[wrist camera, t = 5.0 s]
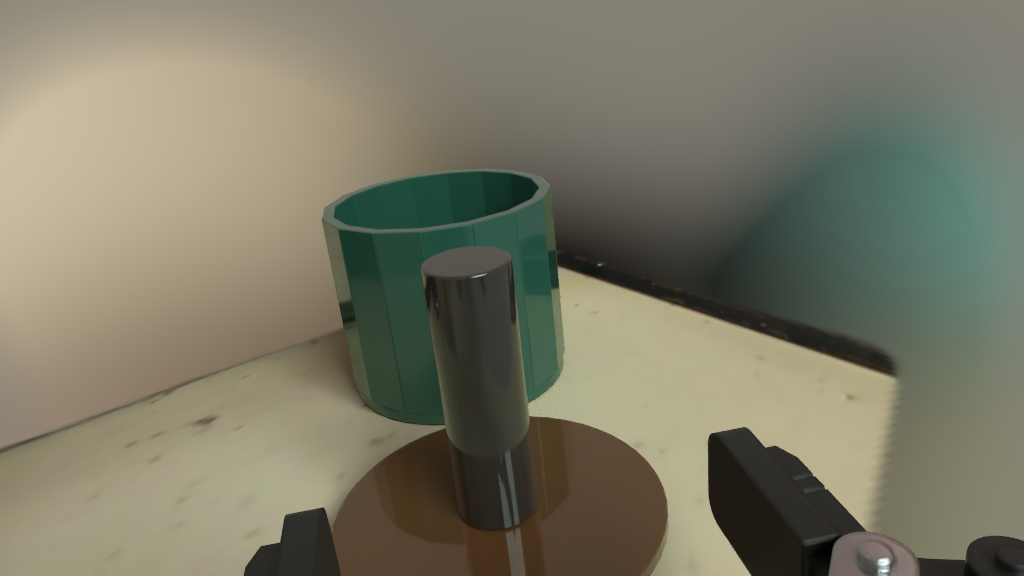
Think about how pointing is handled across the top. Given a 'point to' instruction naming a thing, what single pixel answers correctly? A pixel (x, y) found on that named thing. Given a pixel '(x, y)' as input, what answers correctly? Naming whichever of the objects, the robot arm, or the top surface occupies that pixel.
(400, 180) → the canister
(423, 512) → the lid
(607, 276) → the top surface
